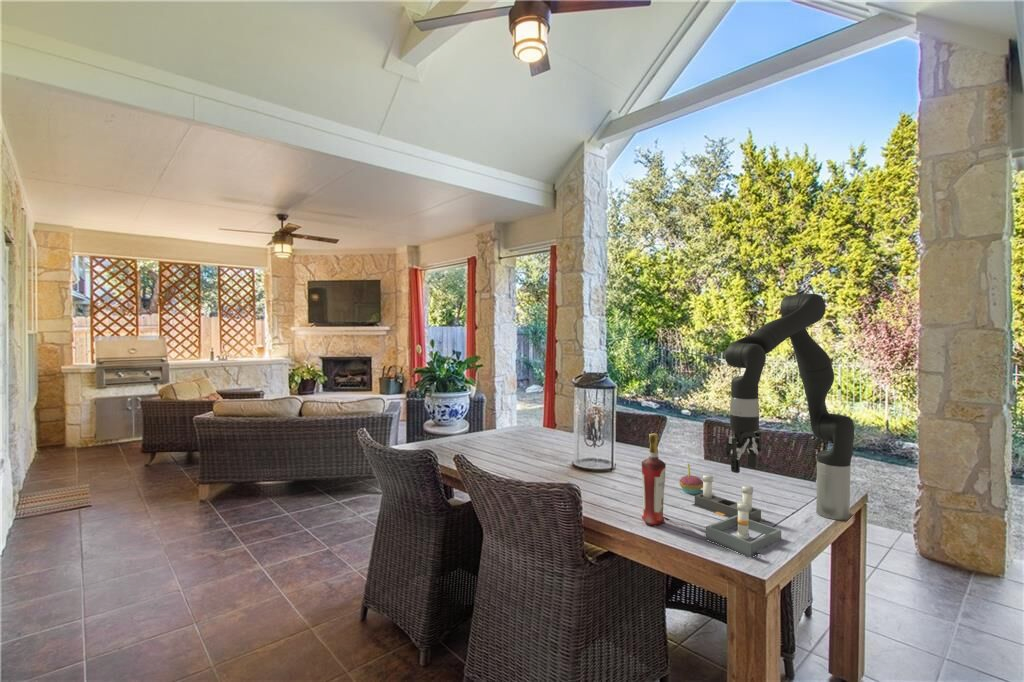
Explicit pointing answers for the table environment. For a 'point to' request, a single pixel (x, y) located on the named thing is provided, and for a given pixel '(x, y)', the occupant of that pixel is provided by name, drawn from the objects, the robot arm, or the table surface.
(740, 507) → the cylinder
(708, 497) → the cylinder
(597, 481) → the table surface
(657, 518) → the liquor
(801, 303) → the robot arm
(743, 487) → the cylinder
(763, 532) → the tray
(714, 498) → the fuse block
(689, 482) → the cupcake
